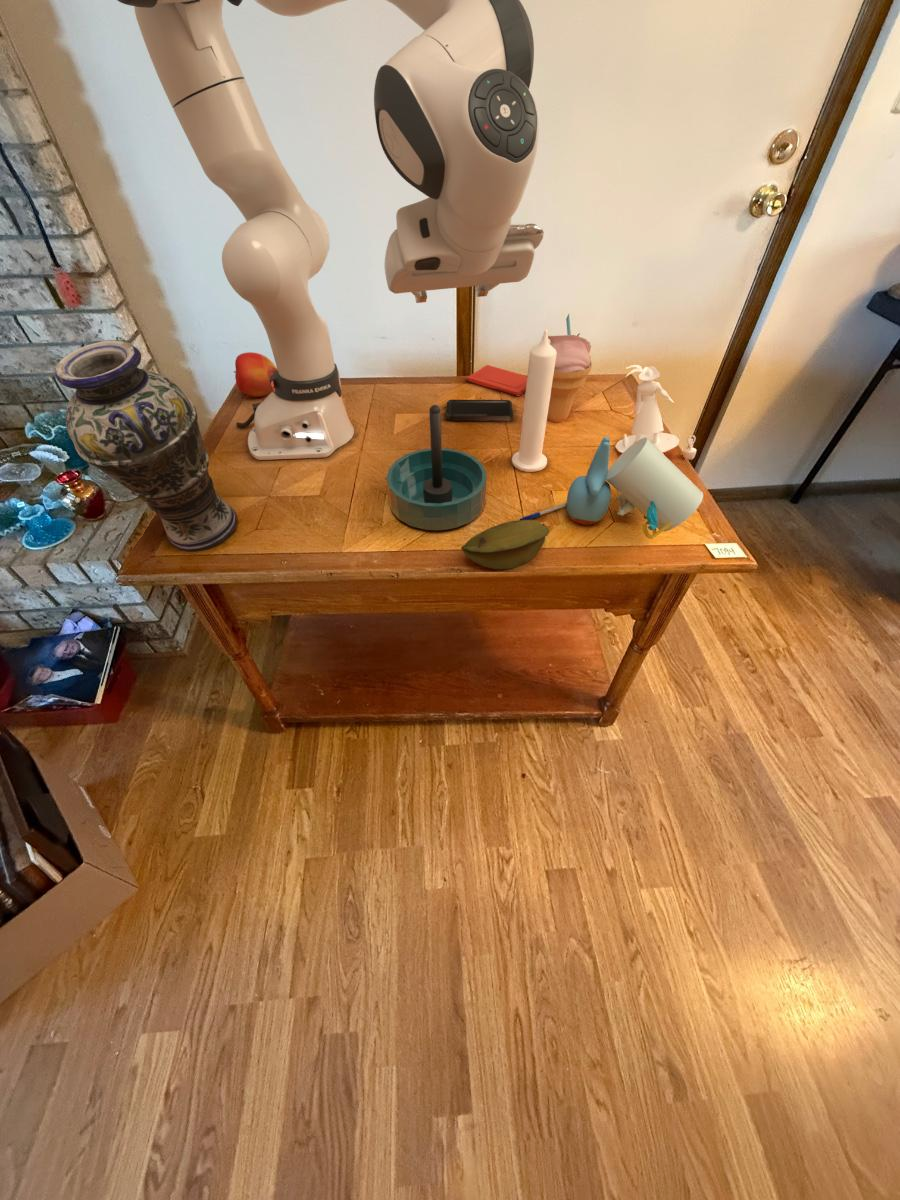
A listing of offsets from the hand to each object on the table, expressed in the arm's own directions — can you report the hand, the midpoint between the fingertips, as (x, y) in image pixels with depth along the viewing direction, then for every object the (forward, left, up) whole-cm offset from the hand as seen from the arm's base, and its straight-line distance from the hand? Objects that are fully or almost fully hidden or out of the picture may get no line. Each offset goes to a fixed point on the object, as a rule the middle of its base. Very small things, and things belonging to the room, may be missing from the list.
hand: (450, 294), depth 74 cm
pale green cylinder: (+24, -19, -21) cm, 37 cm away
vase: (-47, -5, -31) cm, 56 cm away
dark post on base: (-5, -9, -31) cm, 32 cm away
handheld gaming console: (+27, +29, -31) cm, 50 cm away
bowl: (-5, -9, -31) cm, 33 cm away
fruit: (+3, -25, -32) cm, 41 cm away
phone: (+12, +21, -31) cm, 40 cm away
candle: (+16, -1, -32) cm, 35 cm away
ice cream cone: (+28, +15, -32) cm, 45 cm away
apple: (-32, +45, -28) cm, 62 cm away
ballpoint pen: (+13, -17, -30) cm, 37 cm away
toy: (+20, -19, -16) cm, 32 cm away
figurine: (+42, -5, -33) cm, 54 cm away
